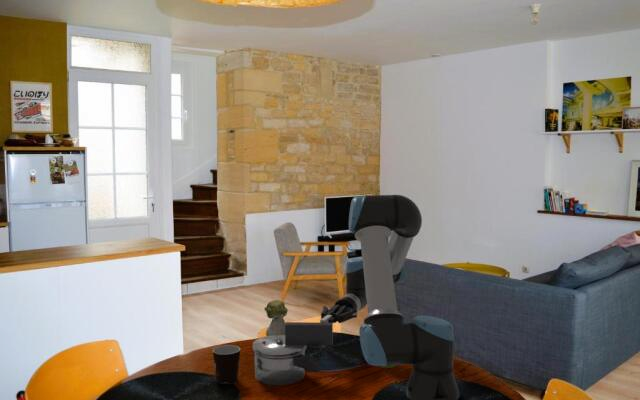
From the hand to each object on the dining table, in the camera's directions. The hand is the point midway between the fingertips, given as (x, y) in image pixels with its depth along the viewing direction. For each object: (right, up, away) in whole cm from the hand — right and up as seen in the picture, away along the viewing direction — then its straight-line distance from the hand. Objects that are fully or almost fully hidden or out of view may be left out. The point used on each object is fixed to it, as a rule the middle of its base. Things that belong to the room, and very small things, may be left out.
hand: (322, 324), depth 190 cm
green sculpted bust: (-17, -14, +22) cm, 32 cm away
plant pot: (+22, -16, +7) cm, 28 cm away
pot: (-11, -16, -3) cm, 20 cm away
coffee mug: (-30, -17, -4) cm, 34 cm away
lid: (-10, -7, -2) cm, 12 cm away
